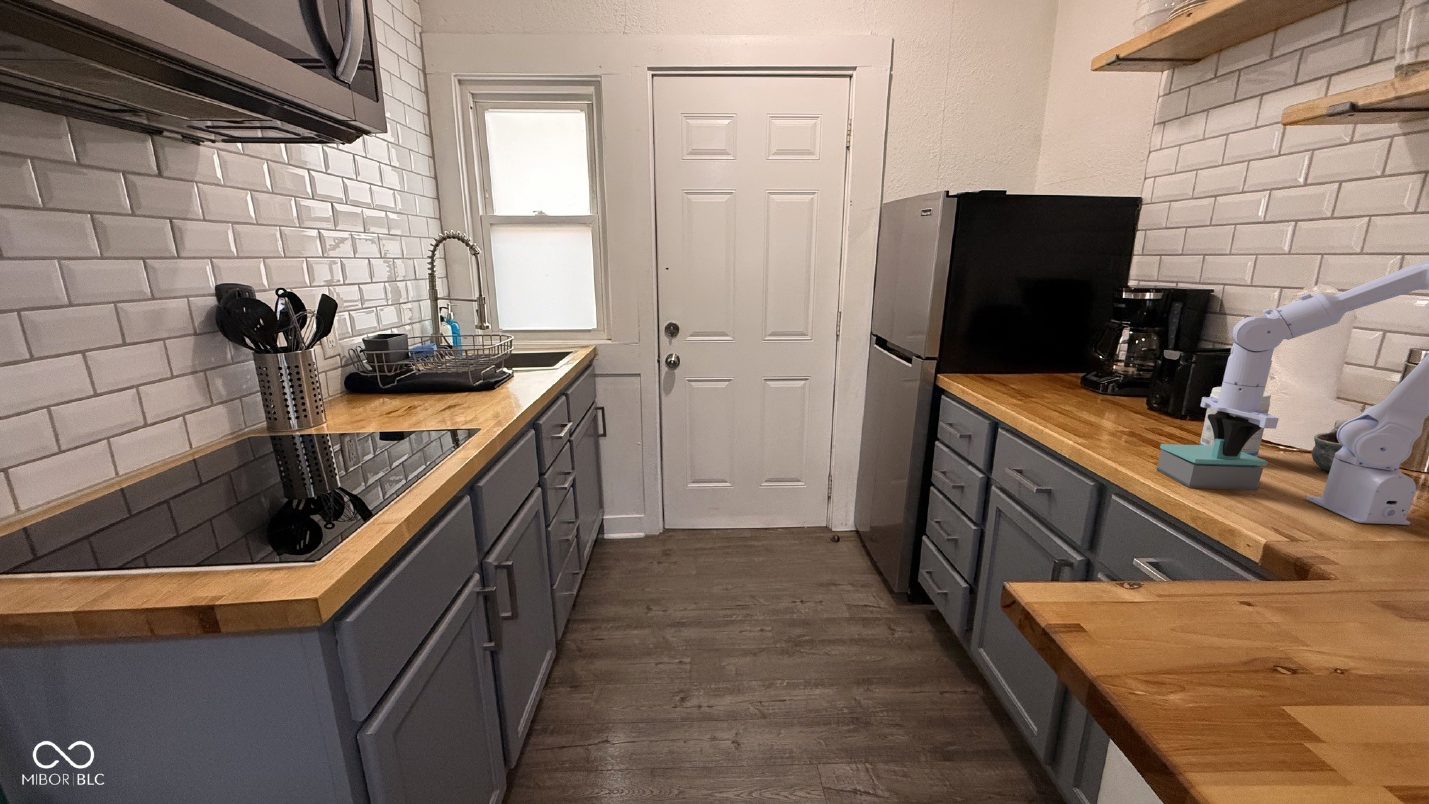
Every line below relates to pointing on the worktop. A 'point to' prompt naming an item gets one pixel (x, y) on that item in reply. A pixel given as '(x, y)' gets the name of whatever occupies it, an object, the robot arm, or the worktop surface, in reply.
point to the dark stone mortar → (1327, 447)
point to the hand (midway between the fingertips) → (1226, 454)
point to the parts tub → (1209, 474)
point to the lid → (1211, 455)
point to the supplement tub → (1252, 443)
